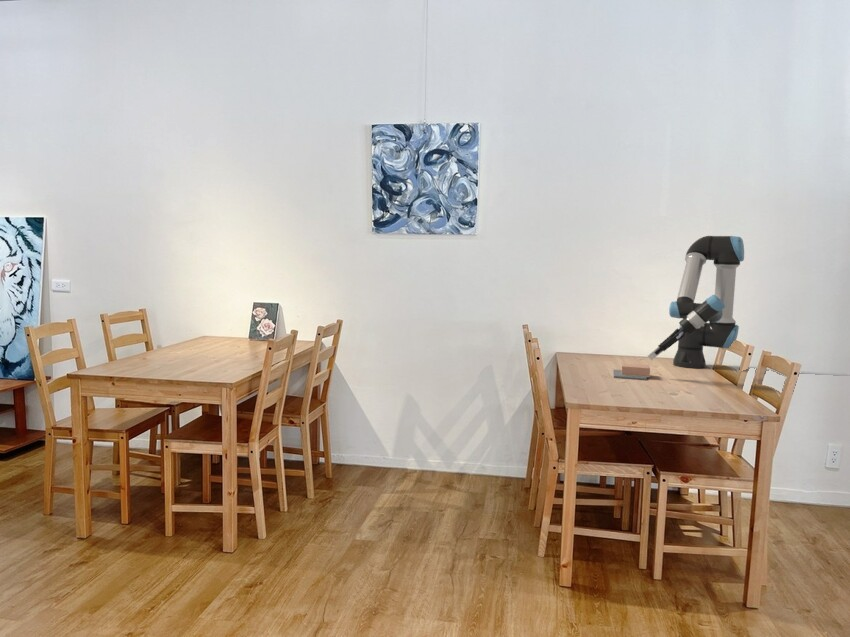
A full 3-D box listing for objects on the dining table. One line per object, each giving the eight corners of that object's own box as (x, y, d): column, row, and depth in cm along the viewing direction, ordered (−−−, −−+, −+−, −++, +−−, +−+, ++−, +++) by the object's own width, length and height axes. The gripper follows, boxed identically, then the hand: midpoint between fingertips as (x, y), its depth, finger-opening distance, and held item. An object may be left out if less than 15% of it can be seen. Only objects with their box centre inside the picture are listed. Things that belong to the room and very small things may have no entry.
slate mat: (644, 373, 306) (644, 371, 306) (646, 380, 291) (646, 378, 291) (613, 371, 310) (613, 369, 310) (613, 377, 294) (613, 375, 294)
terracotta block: (648, 364, 302) (621, 362, 305) (650, 368, 293) (622, 366, 296) (648, 373, 302) (621, 371, 306) (649, 377, 294) (621, 375, 297)
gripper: (699, 331, 284) (656, 366, 291) (696, 327, 297) (654, 361, 303) (686, 318, 285) (644, 354, 292) (684, 315, 297) (643, 349, 304)
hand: (649, 357), depth 297 cm, fingers closed
